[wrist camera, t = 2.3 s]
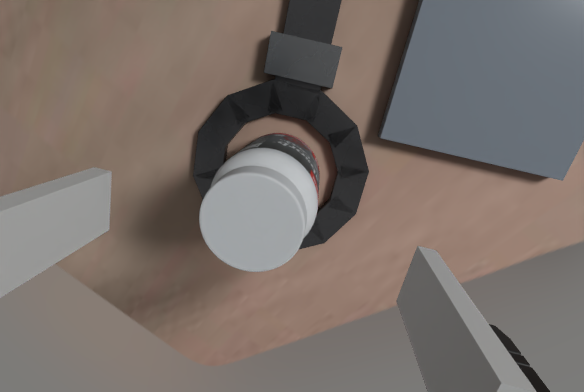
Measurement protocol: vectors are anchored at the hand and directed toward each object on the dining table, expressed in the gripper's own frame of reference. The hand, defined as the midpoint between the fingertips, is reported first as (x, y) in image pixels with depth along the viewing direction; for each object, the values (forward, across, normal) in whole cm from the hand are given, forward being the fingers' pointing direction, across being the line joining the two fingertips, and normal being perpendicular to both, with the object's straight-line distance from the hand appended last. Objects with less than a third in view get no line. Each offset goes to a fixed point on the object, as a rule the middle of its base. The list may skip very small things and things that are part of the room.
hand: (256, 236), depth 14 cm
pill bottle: (+10, 0, 0) cm, 10 cm away
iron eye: (+10, -1, +5) cm, 11 cm away
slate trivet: (+10, +12, +10) cm, 19 cm away
